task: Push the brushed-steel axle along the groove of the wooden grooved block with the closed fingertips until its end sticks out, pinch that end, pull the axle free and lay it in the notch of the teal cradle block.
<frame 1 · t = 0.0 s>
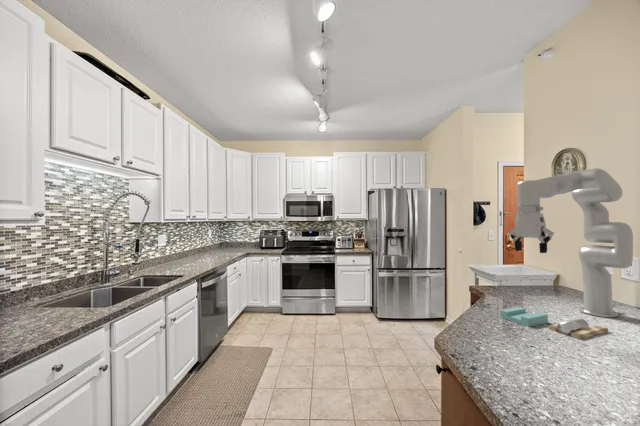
hand: (530, 251, 116), 31 cm above the countertop, fingers open, 9 cm apart
wooden grooved block: (578, 332, 110), on the countertop
cradle: (523, 321, 122), on the countertop
axle: (573, 331, 109), point 1 cm above the countertop, touching wooden grooved block
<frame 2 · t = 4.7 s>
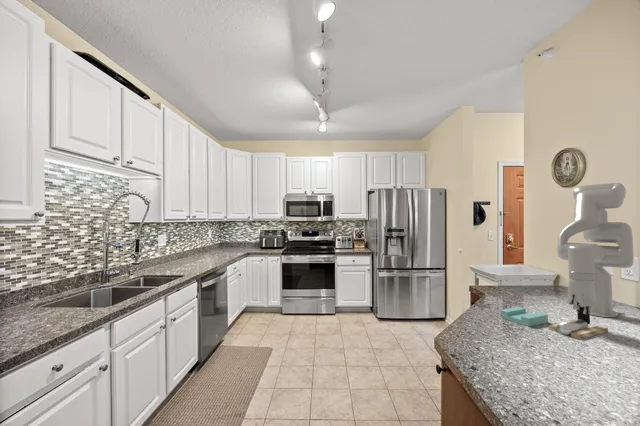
hand: (583, 323, 111), 3 cm above the countertop, fingers closed
axle: (571, 331, 108), point 1 cm above the countertop, tilted 8°, touching wooden grooved block, gripper
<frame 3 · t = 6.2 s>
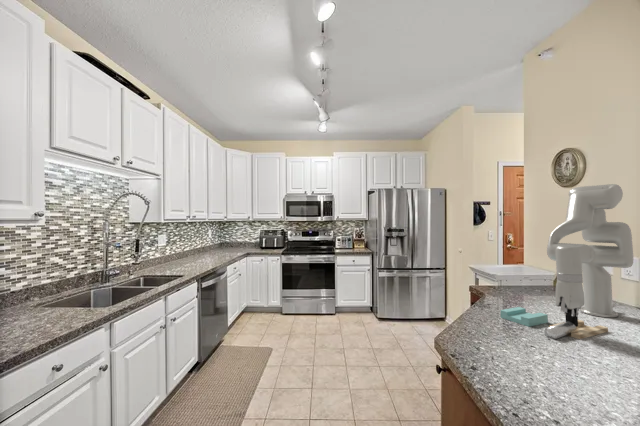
hand: (571, 325, 108), 3 cm above the countertop, fingers closed
axle: (559, 335, 106), point 1 cm above the countertop, tilted 10°, touching wooden grooved block, gripper
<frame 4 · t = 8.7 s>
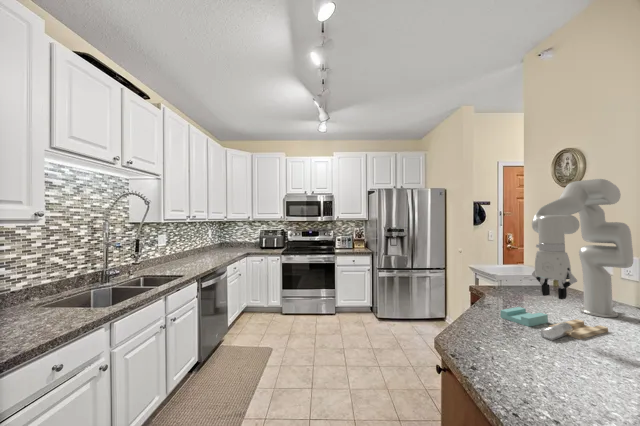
hand: (554, 296, 105), 15 cm above the countertop, fingers open, 4 cm apart
axle: (556, 336, 105), on the countertop, tilted 10°, touching wooden grooved block
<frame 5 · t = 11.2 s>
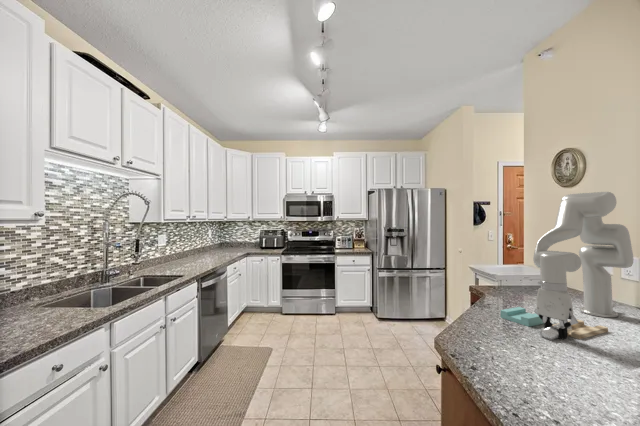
hand: (555, 335, 105), 1 cm above the countertop, fingers closed on axle, 4 cm apart
axle: (556, 336, 105), on the countertop, tilted 5°, touching gripper
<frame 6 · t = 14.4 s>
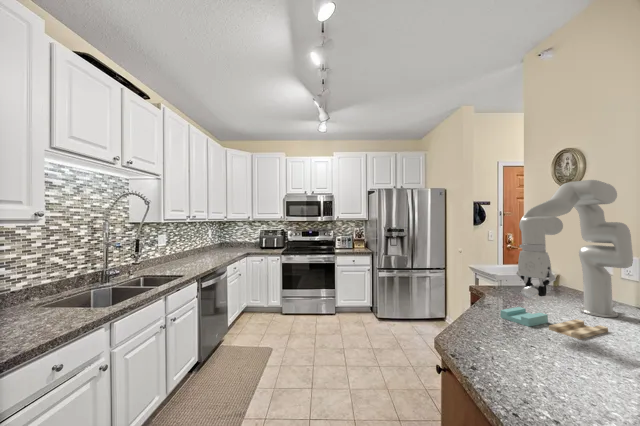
hand: (536, 294, 112), 15 cm above the countertop, fingers closed on axle, 4 cm apart
axle: (536, 295, 112), point 14 cm above the countertop, tilted 5°, touching gripper
when the fingers open (5 cm above the countertop, at t = 17.4 s): axle drops 2 cm, resting on cradle.
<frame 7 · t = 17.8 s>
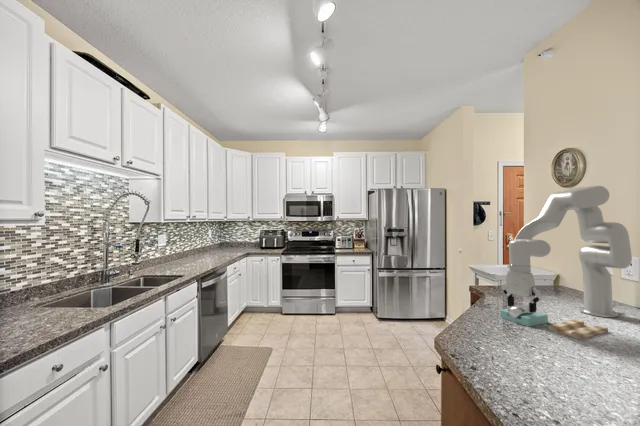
hand: (521, 308, 122), 6 cm above the countertop, fingers open, 8 cm apart
axle: (522, 316, 122), point 2 cm above the countertop, touching cradle
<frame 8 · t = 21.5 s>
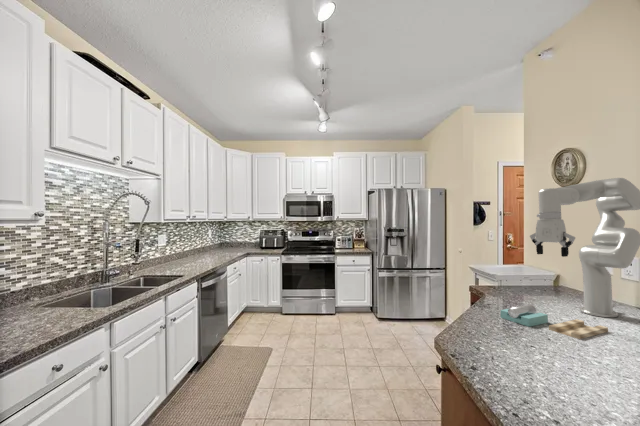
hand: (551, 255, 124), 28 cm above the countertop, fingers open, 9 cm apart
nothing on the countertop moved.
at the end: axle inside the target area on the cradle (0.6 cm from its centre), point 2.5 cm above the cradle's base; the gripper is holding nothing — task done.
